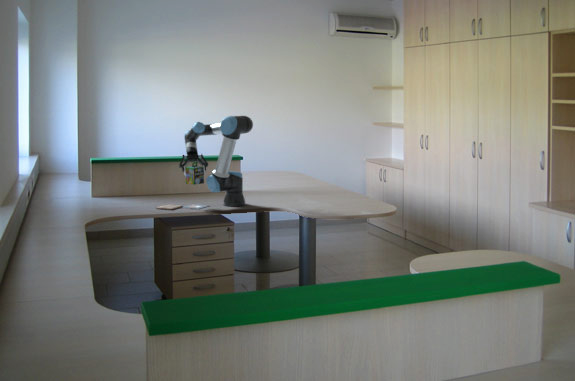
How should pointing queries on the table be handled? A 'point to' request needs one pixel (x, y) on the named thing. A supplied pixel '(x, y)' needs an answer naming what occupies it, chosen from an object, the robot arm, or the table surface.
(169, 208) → the walnut board
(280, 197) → the table surface
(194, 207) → the plate
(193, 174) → the chalk box
